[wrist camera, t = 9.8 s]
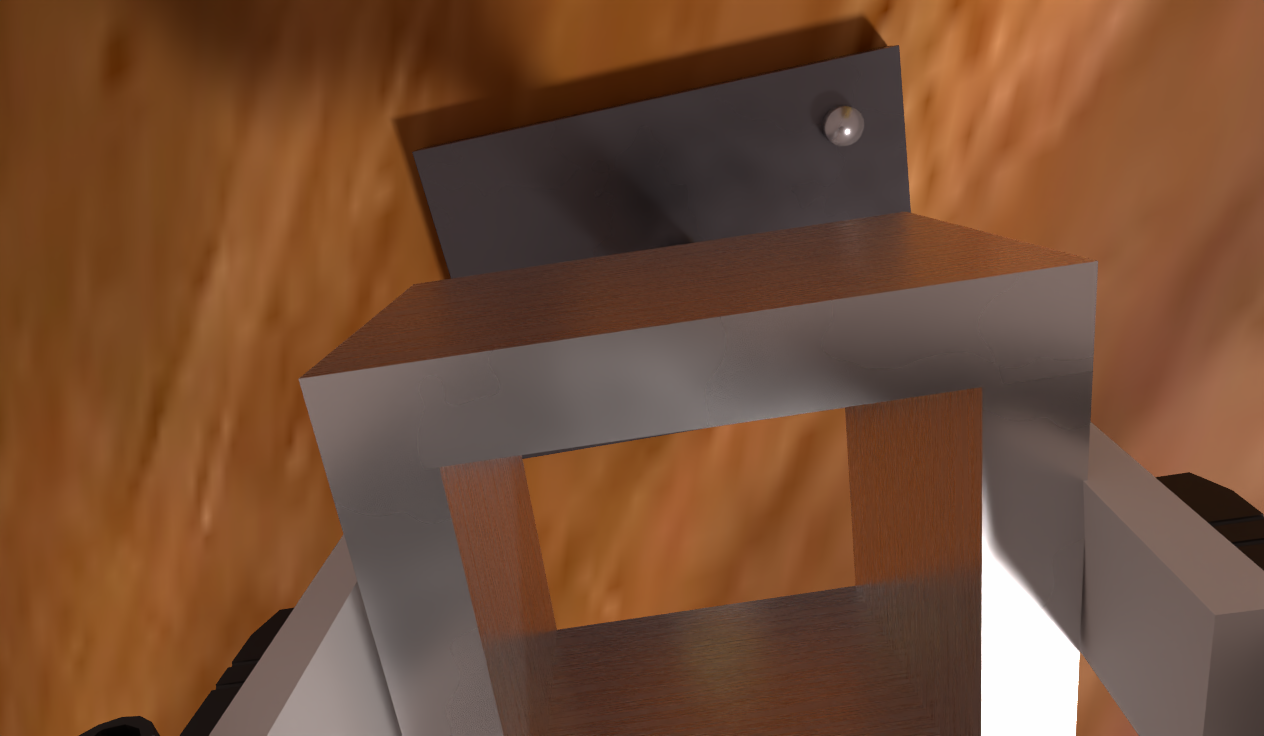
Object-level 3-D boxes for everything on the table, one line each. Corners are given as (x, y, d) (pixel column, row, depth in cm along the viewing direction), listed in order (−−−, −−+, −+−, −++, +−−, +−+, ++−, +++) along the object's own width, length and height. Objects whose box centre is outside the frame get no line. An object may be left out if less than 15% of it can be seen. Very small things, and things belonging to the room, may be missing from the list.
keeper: (513, 446, 31) (434, 650, 20) (422, 148, 26) (262, 208, 16) (913, 378, 29) (1057, 562, 18) (888, 45, 24) (1059, 36, 14)
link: (507, 688, 16) (465, 951, 11) (413, 284, 14) (298, 378, 8) (917, 628, 16) (1069, 862, 11) (905, 211, 14) (1098, 261, 8)
